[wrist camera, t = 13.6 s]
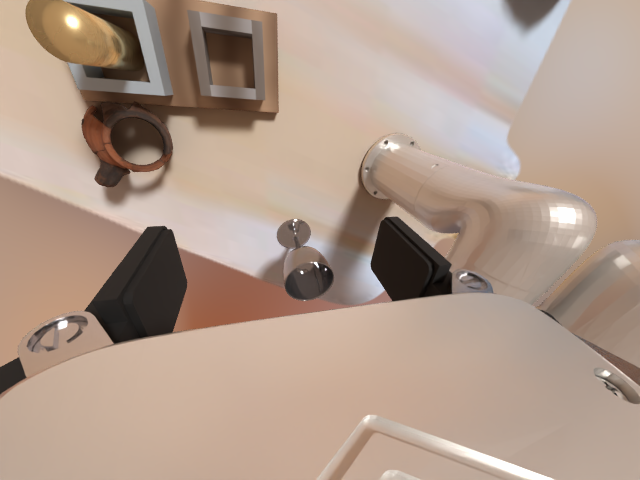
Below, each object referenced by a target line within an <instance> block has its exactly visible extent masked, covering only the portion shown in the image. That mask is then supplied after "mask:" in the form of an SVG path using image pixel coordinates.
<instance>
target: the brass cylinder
mask: <svg viewBox="0 0 640 480" xmlns="http://www.w3.org/2000/svg"><path fill="white" fill-rule="evenodd" d="M26 20H27V24H28V26H29V28H30V30H31V32H32V34H33V36H34V37H35V38H36V40H37V41H38V42H39V43H40V45H41V46H42V47H43V48H44V49H46V50H47V51H48V52H49V53H51V54H52V55H53V56H55V57H57V58H59V59H61V60H63V61H65V62H69V63H74V64H81V65H89V66H96V67H104V68H111V69H119V70H126V71H138V70H140V69H142V68H143V67H144V65H145V60H144V56H143V52H142V48H141V44H140V41H139V40H138V39H137V38H136V37H135V36H134V35H133V34H132V33H130V32H129V31H127V30H125V29H123V28H120V27H118V26H116V25H114V24H112V23H110V22H108V21H106V20H103V19H101V18H99V17H97V16H95V15H93V14H91V13H89V12H86V11H84V10H82V9H80V8H78V7H76V6H74V5H71V4H69V3H67V2H65V1H63V0H30V1H29V2H28V4H27V6H26Z"/></svg>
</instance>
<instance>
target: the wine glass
mask: <svg viewBox="0 0 640 480" xmlns="http://www.w3.org/2000/svg"><path fill="white" fill-rule="evenodd" d="M310 235H311V231H310V227H309V225H308V224H307V223H306V222H304V221H302V220H299V219H292V220H289V221H286V222H284V223H283V224H282V225H281V226H280V227H279V229H278V232H277V239H278V241H279V243H280V244H281V245H282V246H284V247H286V248H291V249H293V248H295V249H294V250H292V251H291V252H290V253H289V254H288V255H287V257H286V259H285V262H284V267H283V279H284V285H285V289H286V292H287V293H288V295H289V296H290V297H292V298H294V299H296V300H301V301H308V300H313V299H316V298H319V297H320V296H322V295H324V294H325V293H326V292H327V291H328V290H329V289H330V288H331V286H332V284H333V281H334V275H333V272H332V269H331V267H330V265H329V264H328V262H327V260H326V259H325V257H324V256H323V255H322V254H321V253H320V252H319V251H318V250H316V249H315V248H312V247H309V246H303V245H304V244H305V243H306V242H307V241H308V240H309V238H310Z"/></svg>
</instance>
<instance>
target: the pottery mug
mask: <svg viewBox="0 0 640 480" xmlns="http://www.w3.org/2000/svg"><path fill="white" fill-rule="evenodd" d="M101 107H102V113H103V119H104V120H103V121H104V123H103V122H101V121H100V120H98V119H97V118H95V116H94V115H93V114H94V113H95V111H96V110H97V108H96V107H95V106H93V105H92V106H91V107H89V108H88V109H87V111H86V113H85V115H84V119H82V131H83V135H84V138H85V139H86V142H87V144H88V145H89V147H90V148H91V150H92V151H93V152H94V153H95V154H97V156H98V157H99V158H100V161H101V166H100V168H99V170H98V172H97V174H96V176H95V181H96V182H97V183H98V184H99V185H102V186H106V187H114V186H116V185H117V183H118V182H119V181H120V180H121V178H122V177H123V176H124V175H126V174H129V173H130V171H129V170H128V169H130V170H132V171H133V172H150V171H154V170H157V169H159V168H160V167H162V166H163V165H164V163H165V162H167V161H168V160H169V158H170V156H171V153H172V150H173V144H172V139H171V136H170V133H169V131H168V129H167V127H166V126H165V124H164V123H163V122H161V121H160V119H159V118H158V117H157V116H156V115H155V114H153V113H151V112H150V111H148V110H147V109H145V108H144V107H143V106H141V105H140V104H139V103H137V102H135V101H134V102H133V104H132V106H131V107H130V109H127V108H125V107H124V106H123V105H120V104H118V103H112V102H110V101H106V102H103V103H101ZM131 117H133V118H134V117H136V118H140V119H143V120H145V121H147V122H149V123H151V124H152V125H153V126H154V127H155V128H156V129H157V130H158V131H159V133H160V134H161V136H162V139H163V143H164V150H163V152H164V153H163V155H162V157H161V158H160V159H159V160H157V161H156V162H154V163H151V164H148V165H136V164H133V163H130V162H128V161H126V160H124V159H123V158H121V157H120V156H119V155H118V154H117V152H116V151H115V150H114V148H113V146H112V143H111V131H112V127H113V126H114V125H115V124H116V123H117V122H118V121H120V120H122V119H125V118H131ZM127 168H128V169H127Z"/></svg>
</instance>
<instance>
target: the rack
mask: <svg viewBox="0 0 640 480" xmlns="http://www.w3.org/2000/svg"><path fill="white" fill-rule="evenodd" d="M63 1H65V2H67V3H69V4H71V5H74V6H76V7H78V8H80V9H82V10H84V11H86V12H89V13H96V14H103V15H110V16H117V17H124V18H131V19H134V21H135V25H136V29H137V33H138V36H139V40H140V44H141V48H142V52H143V56H144V60H145V64H146V68H147V72H148V76H149V79H150V82H142V81H130V80H118V79H107V78H104V75H103V72H102V69H101V67H96V66H89V65H81V64H74V63H69V62H68V65H69V68H70V70H71V73H72V75H73V78H74V80H75V83H76V85H77V88H78V89H79V90H93V91H107V92H120V93H134V94H148V95H161V96H167V95H173V91H172V86H171V81H170V77H169V72H168V68H167V63H166V58H165V54H164V49H163V45H162V40H161V35H160V31H159V26H158V22H157V17H156V12H155V8H154V7H153V6H151V5H150V4H149V3H148V2H147V1H146V0H63Z"/></svg>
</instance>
